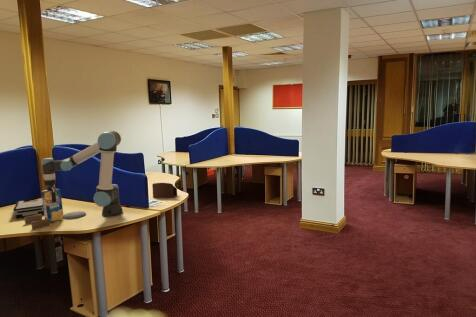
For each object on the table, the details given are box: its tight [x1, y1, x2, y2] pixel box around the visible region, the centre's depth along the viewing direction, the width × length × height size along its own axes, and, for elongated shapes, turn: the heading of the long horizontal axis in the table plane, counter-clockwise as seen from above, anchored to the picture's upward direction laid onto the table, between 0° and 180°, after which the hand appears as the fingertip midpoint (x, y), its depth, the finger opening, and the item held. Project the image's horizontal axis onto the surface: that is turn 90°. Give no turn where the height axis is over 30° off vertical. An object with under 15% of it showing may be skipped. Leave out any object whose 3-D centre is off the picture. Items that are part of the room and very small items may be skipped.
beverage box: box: [41, 187, 65, 222], centre depth 257 cm, size 7×11×22 cm, turn 135°
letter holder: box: [152, 182, 178, 199], centre depth 320 cm, size 10×20×14 cm, turn 79°
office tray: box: [12, 198, 44, 219], centre depth 285 cm, size 21×32×8 cm, turn 28°
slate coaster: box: [63, 210, 87, 220], centre depth 270 cm, size 16×16×1 cm
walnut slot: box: [23, 214, 51, 230], centre depth 251 cm, size 18×11×5 cm, turn 45°
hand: (53, 210), depth 258 cm, fingers closed on beverage box, 2 cm apart
